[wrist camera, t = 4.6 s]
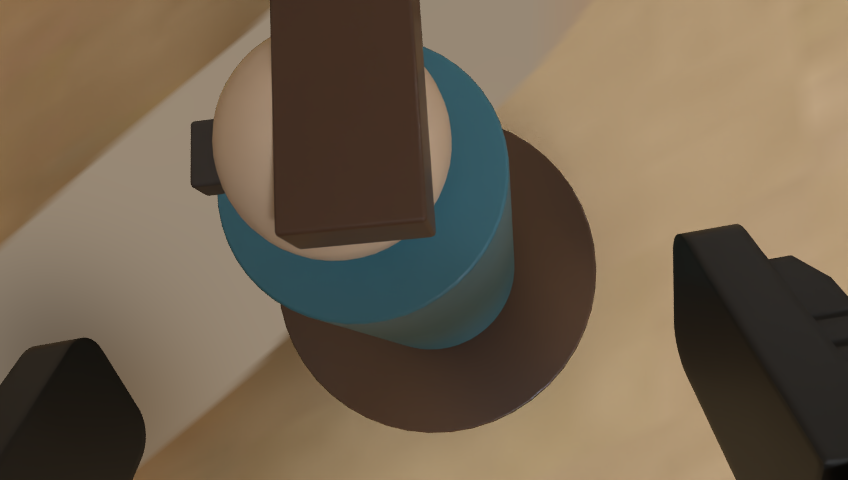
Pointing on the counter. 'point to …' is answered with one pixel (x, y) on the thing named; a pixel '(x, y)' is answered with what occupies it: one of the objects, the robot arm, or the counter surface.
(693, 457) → the counter surface
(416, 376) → the stand
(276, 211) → the teal pump bottle
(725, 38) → the counter surface
